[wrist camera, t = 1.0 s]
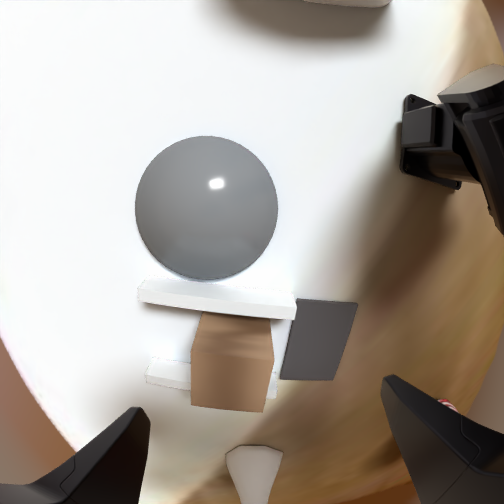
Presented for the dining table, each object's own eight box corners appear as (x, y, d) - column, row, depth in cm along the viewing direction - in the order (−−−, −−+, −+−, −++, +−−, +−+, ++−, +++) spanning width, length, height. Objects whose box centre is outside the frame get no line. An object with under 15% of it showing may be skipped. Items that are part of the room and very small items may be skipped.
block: (268, 312, 22) (274, 360, 16) (260, 362, 23) (262, 412, 17) (204, 305, 21) (190, 351, 16) (202, 355, 23) (191, 405, 17)
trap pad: (356, 302, 21) (357, 305, 21) (331, 377, 24) (333, 380, 23) (297, 298, 21) (298, 300, 21) (279, 376, 24) (280, 379, 23)
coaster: (285, 145, 18) (287, 144, 17) (266, 283, 21) (267, 286, 20) (144, 134, 18) (141, 133, 17) (137, 267, 20) (134, 270, 20)
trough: (292, 292, 21) (297, 307, 19) (273, 380, 24) (275, 399, 21) (149, 275, 21) (137, 288, 18) (153, 365, 23) (146, 382, 21)
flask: (217, 463, 28) (212, 526, 19) (235, 438, 26) (232, 512, 17) (269, 472, 29) (272, 531, 20) (293, 447, 27) (302, 516, 18)
